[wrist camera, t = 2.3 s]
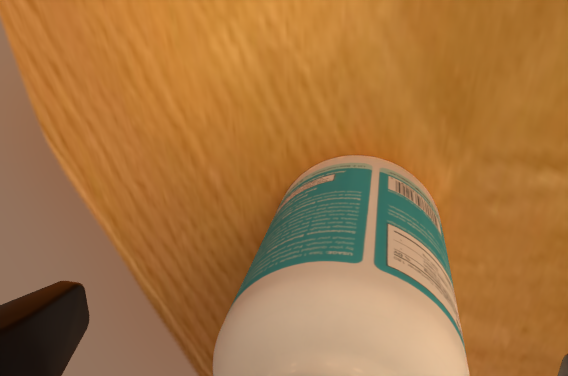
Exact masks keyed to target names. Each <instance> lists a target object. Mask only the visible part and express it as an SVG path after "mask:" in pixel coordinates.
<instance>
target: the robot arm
mask: <svg viewBox="0 0 568 376" xmlns="http://www.w3.org/2000/svg"><path fill="white" fill-rule="evenodd" d="M88 324H89V311H88V305H87V299H86V294H85V289H84V287H83V285H82V284H80V283H77V282H70V281H60V282H57V283H55V284H52V285H50V286H47V287H45V288H42V289H40V290H37V291H35V292H32V293H30V294H27V295H25V296H22V297H20V298H17V299H15V300H12V301H10V302H8V303H5V304H3V305H0V376H61V375H62V373H63V371H64V370H65V368H66V366H67V364H68V362H69V360H70V358H71V357H72V355H73V353H74V351H75V350H76V348H77V346H78V344H79V342H80V340H81V339H82V337H83V335H84V333H85V331H86V329H87V326H88ZM558 376H568V354H567V355H565V356H564V358H563V360H562V363H561V366H560V369H559V372H558Z"/></svg>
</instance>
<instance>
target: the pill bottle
mask: <svg viewBox="0 0 568 376" xmlns="http://www.w3.org/2000/svg"><path fill="white" fill-rule="evenodd" d="M213 376H470V375H469V369H468V364H467V358H466V352H465V345H464V340H463V334H462V330H461V325H460V320H459V314H458V309H457V303H456V298H455V293H454V288H453V282H452V277H451V272H450V266H449V261H448V256H447V250H446V245H445V240H444V235H443V230H442V225H441V220H440V216H439V213H438V209H437V207H436V205H435V202H434V200H433V198H432V197H431V195H430V193H429V192H428V190H427V189H426V188H425V187H424V185H423V184H422V183H421V182H420V181H419V180H418V179H417V178H416V177H414V176H413V175H412V174H411V173H409V172H408V171H407V170H405V169H404V168H402V167H400V166H398V165H396V164H394V163H392V162H390V161H387V160H384V159H381V158H377V157H372V156H363V155H348V156H341V157H336V158H332V159H329V160H326V161H323V162H321V163H319V164H317V165H315V166H313V167H311V168H310V169H308V170H307V171H305V172H304V173H303V174H302V175H301V176H299V177H298V178H297V179H296V181H295V182H294V183H293V184H292V185H291V186H290V188H289V189H288V191H287V192H286V194H285V196H284V198H283V200H282V202H281V204H280V205H279V208H278V210H277V212H276V214H275V216H274V218H273V220H272V222H271V224H270V227H269V229H268V231H267V233H266V235H265V237H264V239H263V241H262V243H261V246H260V248H259V250H258V252H257V254H256V256H255V258H254V260H253V262H252V264H251V266H250V268H249V271H248V273H247V275H246V277H245V279H244V281H243V283H242V285H241V287H240V289H239V291H238V293H237V295H236V297H235V299H234V301H233V303H232V305H231V308H230V310H229V312H228V314H227V316H226V318H225V321H224V323H223V325H222V327H221V330H220V332H219V334H218V338H217V341H216V345H215V349H214V356H213Z"/></svg>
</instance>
